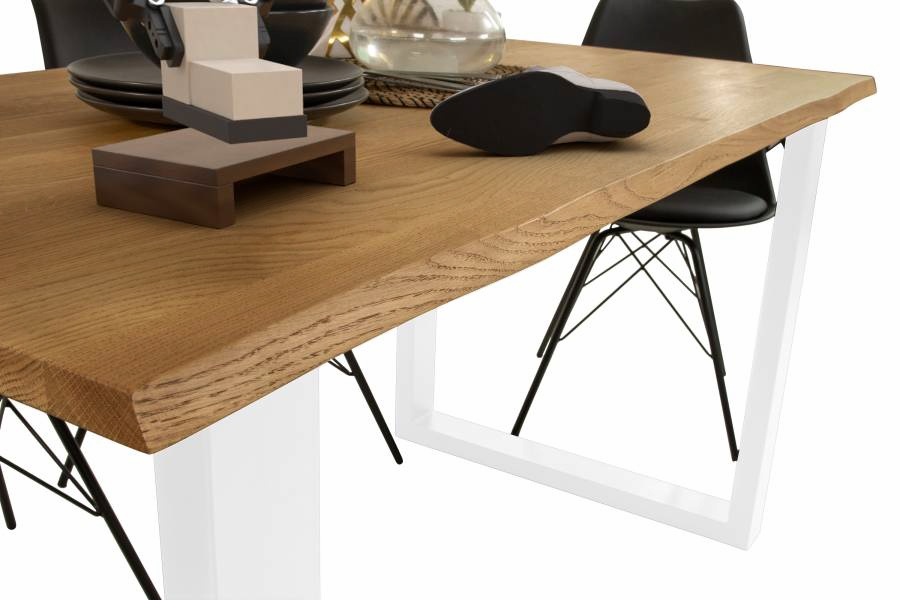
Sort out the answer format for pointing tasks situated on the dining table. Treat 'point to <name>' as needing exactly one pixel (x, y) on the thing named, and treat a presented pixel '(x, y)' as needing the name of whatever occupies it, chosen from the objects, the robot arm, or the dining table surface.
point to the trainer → (230, 78)
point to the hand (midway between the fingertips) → (219, 57)
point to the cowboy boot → (540, 112)
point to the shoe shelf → (211, 170)
